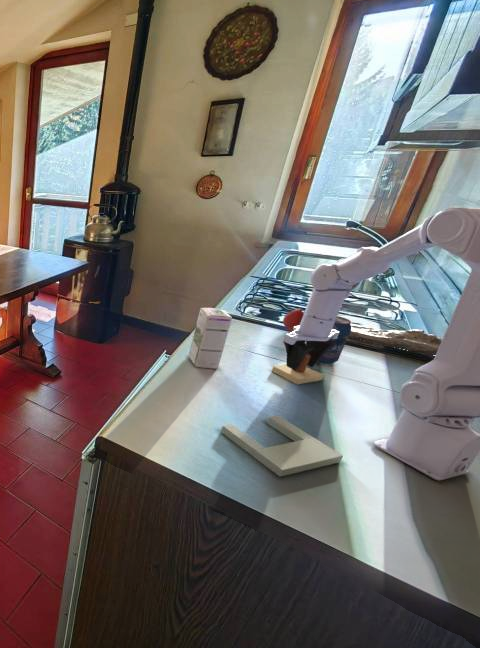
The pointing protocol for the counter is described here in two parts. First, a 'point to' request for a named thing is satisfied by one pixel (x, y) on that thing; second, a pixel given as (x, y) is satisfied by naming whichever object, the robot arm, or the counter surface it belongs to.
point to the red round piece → (293, 319)
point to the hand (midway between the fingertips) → (299, 366)
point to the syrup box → (209, 337)
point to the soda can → (337, 341)
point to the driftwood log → (398, 339)
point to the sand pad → (298, 372)
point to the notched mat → (285, 449)
